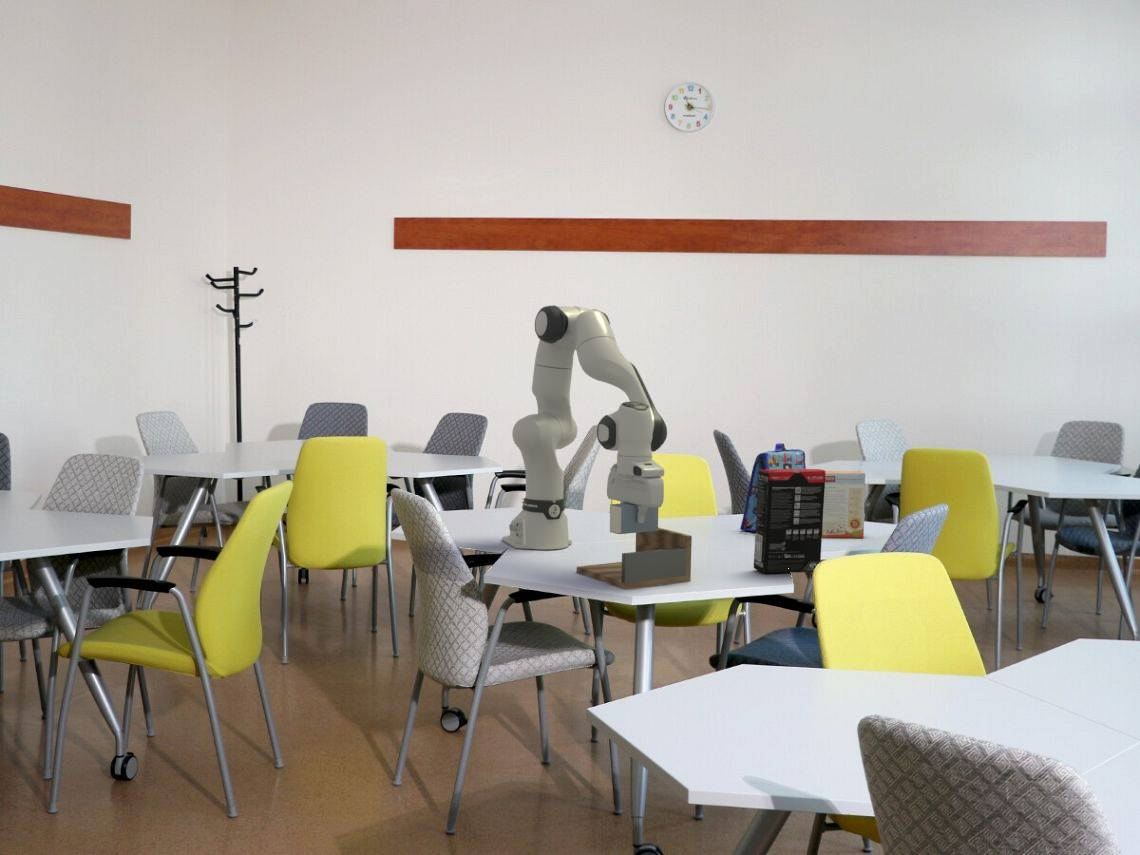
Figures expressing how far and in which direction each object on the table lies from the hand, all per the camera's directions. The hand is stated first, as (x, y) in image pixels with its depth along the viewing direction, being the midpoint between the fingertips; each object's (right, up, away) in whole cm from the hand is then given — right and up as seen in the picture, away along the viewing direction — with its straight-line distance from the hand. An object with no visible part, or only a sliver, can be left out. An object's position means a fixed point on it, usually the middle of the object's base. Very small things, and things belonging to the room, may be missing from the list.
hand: (633, 521), depth 264 cm
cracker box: (+70, -11, +69) cm, 98 cm away
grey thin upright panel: (+5, -14, -7) cm, 16 cm away
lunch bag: (+52, -10, +79) cm, 95 cm away
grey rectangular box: (0, -3, 0) cm, 3 cm away
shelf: (0, -14, +2) cm, 15 cm away
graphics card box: (+42, -15, +13) cm, 46 cm away
